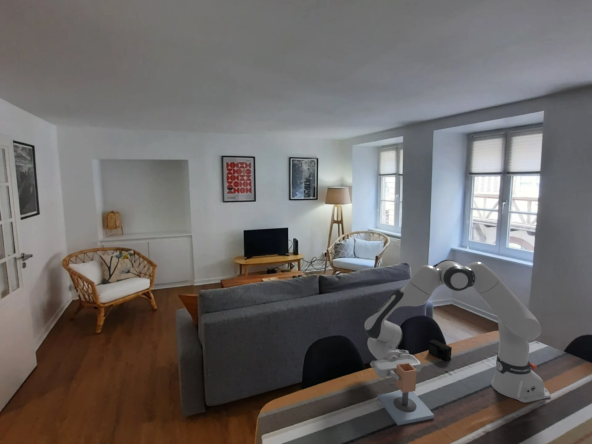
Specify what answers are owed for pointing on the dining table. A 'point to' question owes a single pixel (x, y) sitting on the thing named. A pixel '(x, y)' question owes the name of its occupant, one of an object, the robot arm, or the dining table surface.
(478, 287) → the robot arm
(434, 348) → the digital camera
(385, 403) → the post board
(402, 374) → the sleeve
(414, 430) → the dining table surface
